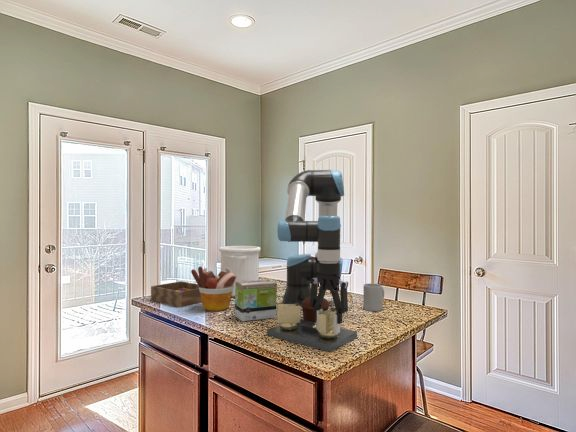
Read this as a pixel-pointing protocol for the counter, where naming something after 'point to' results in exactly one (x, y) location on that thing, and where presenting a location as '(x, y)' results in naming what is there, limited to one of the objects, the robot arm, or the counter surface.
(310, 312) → the muffin
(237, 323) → the counter surface
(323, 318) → the knob
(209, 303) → the bucket of meat
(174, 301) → the book tray
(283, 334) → the levelling plate
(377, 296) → the mug
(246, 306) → the tea box
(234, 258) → the bucket
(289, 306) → the knob
